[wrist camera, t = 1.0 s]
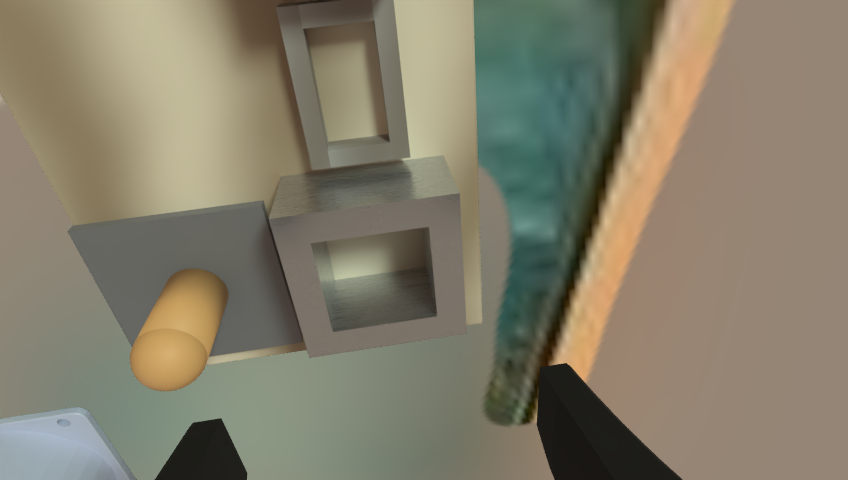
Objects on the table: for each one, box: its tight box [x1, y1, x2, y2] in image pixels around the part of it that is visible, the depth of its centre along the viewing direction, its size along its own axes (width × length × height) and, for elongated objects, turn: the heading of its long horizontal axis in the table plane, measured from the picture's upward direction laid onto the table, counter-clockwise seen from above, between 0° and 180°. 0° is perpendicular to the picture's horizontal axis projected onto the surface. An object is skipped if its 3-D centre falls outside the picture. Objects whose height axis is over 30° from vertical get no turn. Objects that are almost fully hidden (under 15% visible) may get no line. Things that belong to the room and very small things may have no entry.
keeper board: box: [0, 0, 482, 365], centre depth 15 cm, size 14×18×3 cm
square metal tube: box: [269, 155, 467, 358], centre depth 17 cm, size 6×6×3 cm
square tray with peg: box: [68, 200, 303, 391], centre depth 16 cm, size 6×6×5 cm
